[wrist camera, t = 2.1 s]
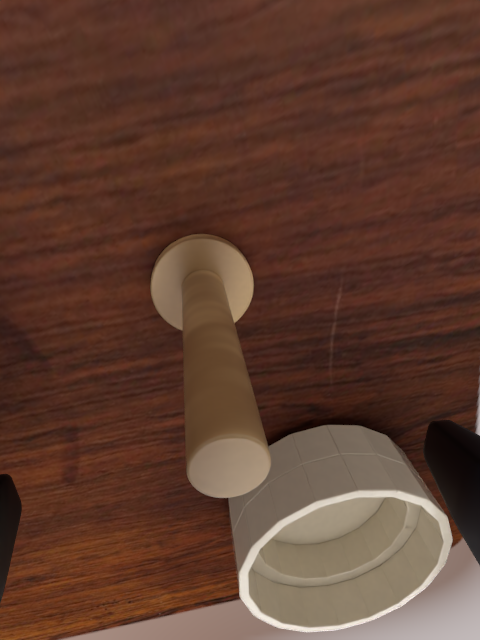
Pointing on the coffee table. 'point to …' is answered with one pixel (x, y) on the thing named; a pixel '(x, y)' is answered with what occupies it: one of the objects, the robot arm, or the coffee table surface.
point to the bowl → (336, 531)
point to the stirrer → (213, 362)
